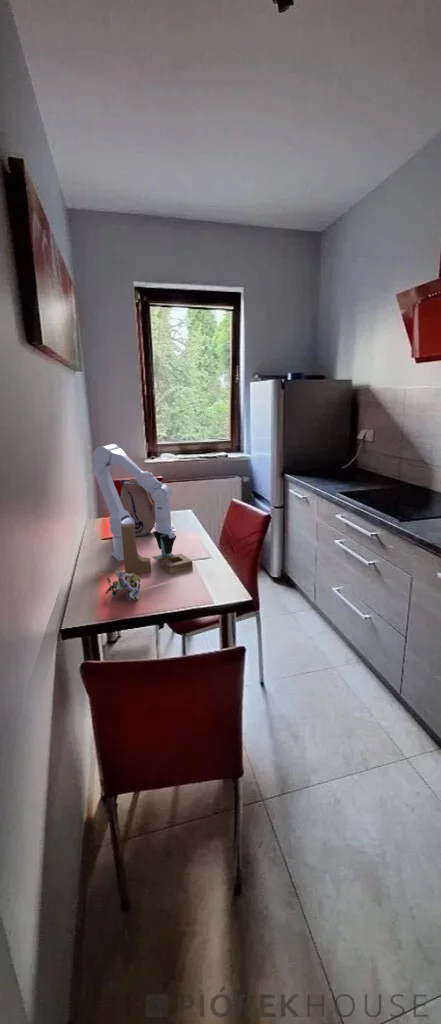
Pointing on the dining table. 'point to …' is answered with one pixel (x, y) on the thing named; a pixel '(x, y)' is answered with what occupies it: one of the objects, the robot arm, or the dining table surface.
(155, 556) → the mat
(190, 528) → the dining table surface
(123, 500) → the ceramic pitcher
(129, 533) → the wooden block
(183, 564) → the hole block
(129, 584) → the passion flower
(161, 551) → the peg
